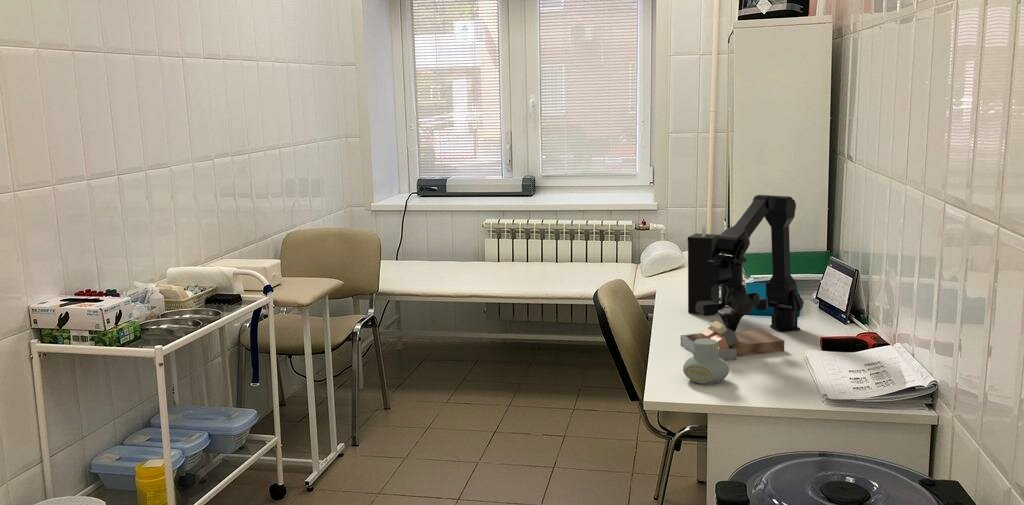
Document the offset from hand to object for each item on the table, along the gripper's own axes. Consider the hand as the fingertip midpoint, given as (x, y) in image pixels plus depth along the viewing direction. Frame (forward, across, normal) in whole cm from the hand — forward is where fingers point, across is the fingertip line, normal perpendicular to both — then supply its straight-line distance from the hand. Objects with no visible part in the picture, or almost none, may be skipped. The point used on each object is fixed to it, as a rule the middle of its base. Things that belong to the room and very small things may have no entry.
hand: (731, 336), depth 232 cm
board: (+4, +5, 0) cm, 6 cm away
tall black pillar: (+4, +11, +41) cm, 43 cm away
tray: (+4, -7, 0) cm, 8 cm away
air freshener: (+4, -18, -21) cm, 28 cm away
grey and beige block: (0, -2, 0) cm, 2 cm away
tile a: (0, -4, +3) cm, 5 cm away
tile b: (0, -4, -3) cm, 5 cm away
